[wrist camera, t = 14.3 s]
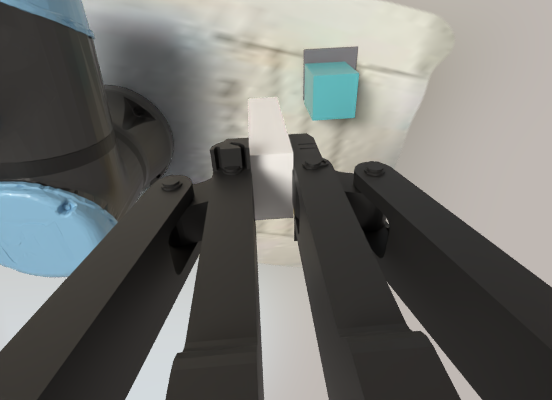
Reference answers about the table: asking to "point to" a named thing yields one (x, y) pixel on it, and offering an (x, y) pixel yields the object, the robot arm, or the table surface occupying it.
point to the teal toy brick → (330, 90)
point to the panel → (330, 57)
